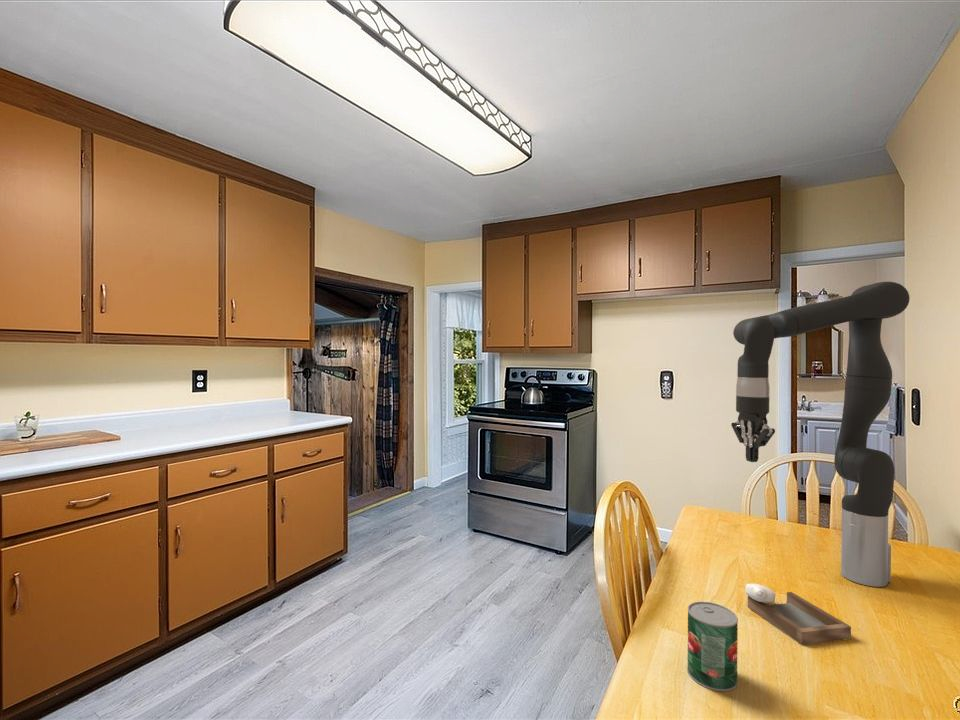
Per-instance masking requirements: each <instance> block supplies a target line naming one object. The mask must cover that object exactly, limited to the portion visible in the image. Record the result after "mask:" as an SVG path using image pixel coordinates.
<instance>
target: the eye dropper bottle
mask: <svg viewBox="0 0 960 720" xmlns="http://www.w3.org/2000/svg"><path fill="white" fill-rule="evenodd" d="M744 593H745V595H747V597H748V596H749V597H751V598H752V599H754V600H756V601H759V602H763V603H764V604H773V603H775V602H776V593H775V592H774V591H773V590H771V588H768V587H766V586H765V585H762V584H758V583H746V585H745V589H744Z"/></svg>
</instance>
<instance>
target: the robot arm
mask: <svg viewBox="0 0 960 720" xmlns="http://www.w3.org/2000/svg"><path fill="white" fill-rule="evenodd" d="M909 303H910V293H909V291H908V290H907V288H906V287H905V286H904V285H902V284H900V283H898V282H895V281H880V282H875V283H872V284H868V285H864V286H860V287H858V288H856V289H855V290H854V291H853V292H852V293H851V295H848V296H844V297H841V298H836V299H831V300H825V301H821V302H815V303H810V304H809V303H808V304H804V305H800V306H796V307H792V308H788V309H784V310H781V311H777V312H775V313H771V314H765V315H760V316H754V317H751V318H745V319H742V320H741V321H739V322H738V323H736V325H735V326H734V327H733V332H732V333H733V337H734V339H735V341H736V342H738V343H739V344H742V345H744V348H743V354H742V355H740V356H739V357H738V359H737V371H736V372H737V373H736V375H737V379H736V387H735V389H736V390H735V411H736V413H738V417H737V421H735V422H732V423H731V428H732V429H733V432H734V434H735V435H736V438H737V440H738V442H739V443H741V444H743V445H744V447H745V459H746V461H747V462H750V463H757V462H758V461H759V455H760V454H759V453H760V451H759V449H760V447H765V446H766V445H767V444H768V443H769V441H770V440H771V438H772V437H773V436H774V434H775V433H776V429H775V428H772V427H770V426H769V425H768V419H767V415H768V414H770V388H771V387H770V382H769V381H770V380H769V373H770V371H769V368H770V367H769V361H770V357H771V354H772V349H773V345H774V341H775V339H778V338H779V339H780V338H789V337H794V336H798V335H802V334H806V333H810V332H814V331H818V330H821V329H825V328H828V327H833V326H835V325H841V324H843V323H848V333H849V334H848V347H847V348H848V350H847V366H846V372H845V381H844V399H843V400H844V401H843V406H842V407H843V409H842V416H841V423H840V429H839V434H838V437H837V438H838V439H837V444H836V446H835V453H834V459H833V460H834V461H833V463H834V468H835V471H836V473H837V474H838V476H839V477H841V478H842V479H844V480H847V481H849V482H854V483H858V484H857V485H858V486H857V492H856V493H854V494H847V495H844V496H842V498H841V541H840V543H841V547H840V550H841V551H840V553H841V556H840V574H841V576H842V577H843V578H845V579H846V580H849V581H850V582H851V581H852V582H854V583H856V584H860V585H862V586H863V585H864V586H868V587H874V588H875V587H877V588H879V587H880V588H881V587H882V588H883V587H887V586H888V585H889V583H888V582H890V583H891V580H892V579H891V578H892V577H891V575H892V572H891V571H892V545H891V544H890V543H889V509H890V507H891V505H892V502H893V497H894V487H895V473H896V472H895V465H894V461H893V459H892V458H891V456H890V455H889V454H888V453H886V452H885V451H882V450H877V449H874V448H869V447H867V445H868V444H867V443H868V435H869V431H870V428H871V426H872V424H873V422H874V421H875V420H876V419H877V418H878V416H879V415H880V414H881V413H882V411H883V410H884V409H885V407H887V404H888V403H889V401H890V399H891V395H892V387H893V385H892V383H893V369H892V365H891V363H890V360H889V359H888V356H887V354H886V352H885V350H884V347H883V345H882V341H881V339H882V338H881V333H882V322H883V319H889V318H893V317H896V316H898V315H900V314H901V313H903V312H904V311H905V310H906V309H907V307H908V306H909ZM886 585H887V586H886Z"/></svg>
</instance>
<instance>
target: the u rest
mask: <svg viewBox="0 0 960 720" xmlns="http://www.w3.org/2000/svg"><path fill="white" fill-rule="evenodd" d="M747 609H749V610H751V611H753V612H754V613H755V614H756V615H758V616H759V617H761V618H762V619H764V620H765V621H766V622H768V623H769V624H771V626H772V625H773V627H775V628H776V629H778V630H779V631H781V632H783V633H784V634H785V635H787V637H789V638H791V639H792V640H794V641H795V642H797V643H798V644H800V645H801V646H805V645H806V646H807V645H814V644H822V643H831V642H839V641H846V640H848V641H849V640H851V639H852V627H851V625H849V624H847V623H846V622H844V621H842V620H841V619H839V618H837V617H835V616H834V615H832V614H830V613H828V612H827V611H825V610H823V609H822V608H820V607H819V606H816V605H814V604H813V603H811V602H809V601H808V600H807V599H804V598H803V597H801V596H799V595H798V594H796V593H794V592H792V591H787V592H786V602H785V603H776V604H767V603H763V602H759V601H756V600H754V599H752V598H751V597H749V596H748V595H747Z"/></svg>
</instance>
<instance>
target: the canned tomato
mask: <svg viewBox="0 0 960 720" xmlns="http://www.w3.org/2000/svg"><path fill="white" fill-rule="evenodd" d="M738 622H739V619H738V616H737V615H736V613H735V612H734V611H732V610H731V609H729V608H728V607H725V606H724V605H721V604H718V603H714V602H709V601H695V602H691V603H690V604H689V605H688V607H687V666H686V667H687V668H686V670H687V673H688V675H689V676H690V678H691V679H692V680H693V681H694V682H695V683H697V684H698V685H700V686H702V687H704V688H705V689H709V690H712V691H716V692H731V691H733V690H735V689H736V688H737V686H738V643H739V642H738V624H739V623H738Z"/></svg>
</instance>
